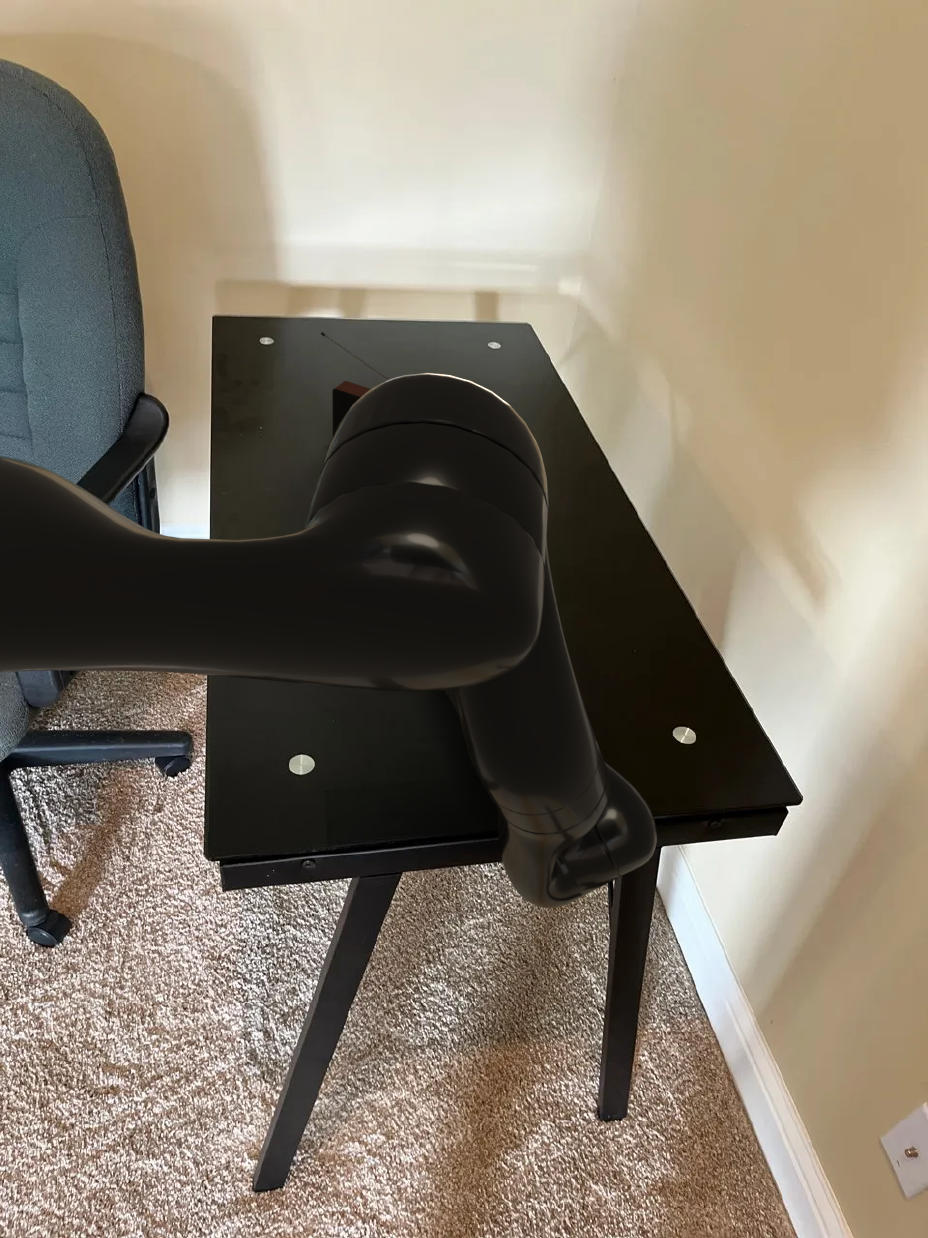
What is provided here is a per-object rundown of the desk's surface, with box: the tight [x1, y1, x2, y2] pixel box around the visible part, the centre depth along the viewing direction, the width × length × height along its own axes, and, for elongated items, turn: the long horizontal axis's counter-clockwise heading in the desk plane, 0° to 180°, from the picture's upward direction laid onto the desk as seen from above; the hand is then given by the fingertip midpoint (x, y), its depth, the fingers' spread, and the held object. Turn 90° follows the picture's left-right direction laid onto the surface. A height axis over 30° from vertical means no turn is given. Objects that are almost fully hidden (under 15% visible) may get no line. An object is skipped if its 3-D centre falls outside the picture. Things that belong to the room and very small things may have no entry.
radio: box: [320, 331, 392, 438], centre depth 104 cm, size 19×3×15 cm, turn 65°
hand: (424, 551), depth 78 cm, fingers open, 8 cm apart
